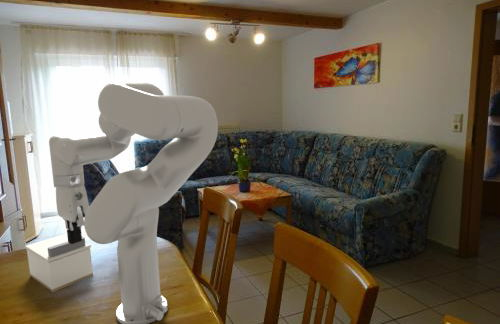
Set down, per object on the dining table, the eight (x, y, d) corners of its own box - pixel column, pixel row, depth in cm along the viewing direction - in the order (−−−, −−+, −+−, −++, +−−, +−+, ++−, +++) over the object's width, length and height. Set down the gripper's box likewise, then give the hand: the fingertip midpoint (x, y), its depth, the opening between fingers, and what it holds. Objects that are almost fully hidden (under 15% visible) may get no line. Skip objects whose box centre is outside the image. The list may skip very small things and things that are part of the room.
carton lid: (91, 247, 105) (89, 237, 105) (48, 262, 95) (46, 251, 95) (66, 235, 115) (65, 226, 114) (25, 248, 105) (24, 238, 105)
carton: (93, 275, 107) (90, 248, 105) (52, 292, 97) (48, 263, 96) (69, 261, 116) (66, 236, 115) (30, 275, 107) (26, 249, 105)
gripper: (95, 181, 92) (101, 244, 95) (70, 173, 101) (75, 231, 104) (67, 186, 86) (74, 253, 89) (42, 178, 95) (49, 239, 98)
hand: (75, 241), depth 97 cm, fingers closed
